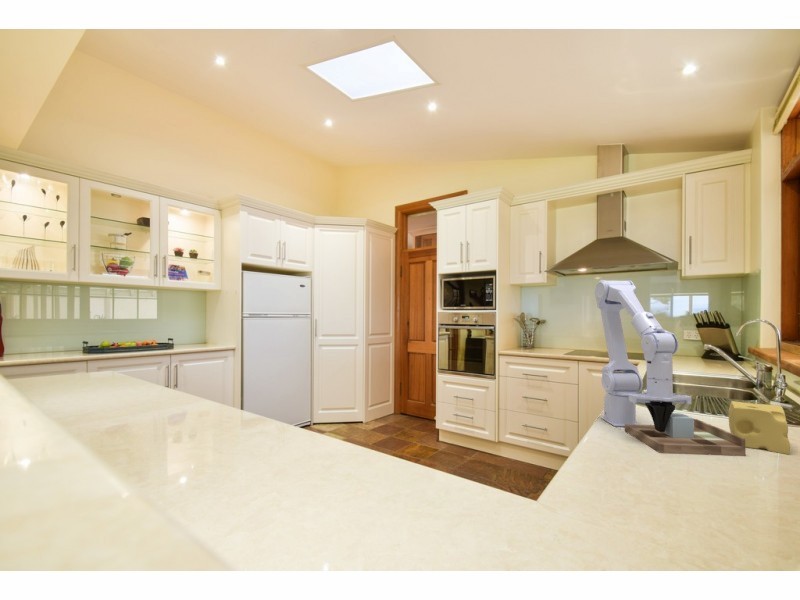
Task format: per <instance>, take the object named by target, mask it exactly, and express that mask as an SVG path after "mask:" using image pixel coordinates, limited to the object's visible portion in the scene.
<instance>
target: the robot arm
mask: <svg viewBox="0 0 800 600" xmlns="http://www.w3.org/2000/svg"><path fill="white" fill-rule="evenodd" d="M636 294H637V287H636V285H635V284H634V282H633V281H632V280H630V279H627V280H605V279H600V280H599V281H598V282H597V284H596V286H595V289H594V295H595V301H596V306H597V308H598V309H600V314H601V321H602V327H603V332H604V337H605V343H606V349H607V355H608V360H609V362H608V363H607V364H606V365H605V366H603V367H602V369H601V385H602V388H603V389H604V391H605V392H606V393H605V396H604V397H603V398H604V399H603V414H604V415H603V416H600V417H601V418H600V419H602V420H604V421H605V422H607V423H609V424H610V425H612V426H614V427H624V428H625V424H636V425H641V424H640V423H638V422H637V420H636V419H637V413H636V412H637V409H636V405H637V403H644V405H645V406H646V408H647V410H648V411H649V413H650V416H651V419H652V423H653V425H654V426H655V430H657V431H659V432H665V429H666V425H667V422H668V420H669V418H670V416H671V414H672V413H674V411H675V410H676V404H683V405H684V404H685V405H692V396H689V395H686V394H685V395H683V394H674V391H673V390H674V389H673V388H674V387H673V385H674V382H673V381H674V380H673V379H674V378H673V376H674V375H673V372H674V371H673V370H674V369H673V367H674V366H673V355H674V354H676V353H677V351H678V348H679V341H678V338H677V337H676V335H675V333H673V332H671V331H668V330H665V329H664V328H663V327H662V325H661V324H660V322H659V321H658V320H657V318H656V317H655V315H654V314H653V313H652V312H650V311H645V309H644V308H643V305H642V304H641V302H640V300H639V299H638V297H637V295H636ZM623 309H625V310H626V312H627V313H628V314H629V315H630V317H631V318H632V319H631V322H630V323H631V325H632V327H633V328H634V330H635V331H636V333H637V335H638V336H639V337H640V339H641V342H640V346H641V347H640V348H641V350H642V351H643V358H644V360H645V361H646V393H645V392H643V393H642V392H641V391H642V389H643V387H644V386H643V385H644V382H643V378H642V376H641V375H640V373H639V369H638V366H636V365H635V364H634V363H632V362H631V361H629V357H628V352H627V346H626V340H625V335H624V330H623V325H622V320H621V315H620V312H621V310H623ZM640 392H641V393H640ZM674 404H675V405H674Z"/></svg>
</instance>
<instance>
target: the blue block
mask: <svg viewBox="0 0 800 600" xmlns="http://www.w3.org/2000/svg"><path fill="white" fill-rule="evenodd" d="M694 419H695V418H693V417H691V416H689V415H687V414H684V413H680V412H679V413H678V412H673V413H672V414H671V416H670V418H669V420H668V422H667V425H666V429H665V432H663V433H665V434H667V435H669V436H671V437H673V438H694Z"/></svg>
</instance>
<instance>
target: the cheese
mask: <svg viewBox="0 0 800 600" xmlns="http://www.w3.org/2000/svg"><path fill="white" fill-rule="evenodd" d="M728 425H729V426H728V427H729V431H730V433H732V434H735V435H737V436H740V437H742V438H745V448H748V449H762V450H763V449H764V450H766V451H768V452H773V453H779V454H784V455H789V453H790V448H791V445H790V444H791V443H790V440H789V437H788V436H789V435H788V433H789V425H788V422H787V418H786V413H785V410H784V409H783V407H782V406H781V405H780V404H779V405H778V404H764V403H762V404H761V403H753V402H752V403H751V402H741V401H734V400H731V401H730V404H729V409H728Z"/></svg>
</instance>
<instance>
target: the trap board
mask: <svg viewBox="0 0 800 600" xmlns="http://www.w3.org/2000/svg"><path fill="white" fill-rule="evenodd" d="M625 431H626V432H625ZM624 432H625V433H627V434H628V433H629V435H630V436H632V437H634V438H635V439H636V440H638V441H640V442H642V443H643V444H644V445H646V446H648V447H650V448H651V449H652V450H655V451H656V452H658V453H660V454H683V455H684V454H685V455H687V454H688V455H709V454H711V455H713V456H743V457H745V456H746V453H747V452H746V447H745V438H742V437H740V436H737V435H735V434H732V433H731V432H729V431H727V430H725V429H722V428H719V427H718V426H715V425H712V424H710V423H707V422H704V421H702V420H700V419H698V418H694V438H673V437H671V436H669V435H667V434H665V433H663V432H659V431H657V430H655V426H654V424H640V425H636V424H625V427H624Z"/></svg>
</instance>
